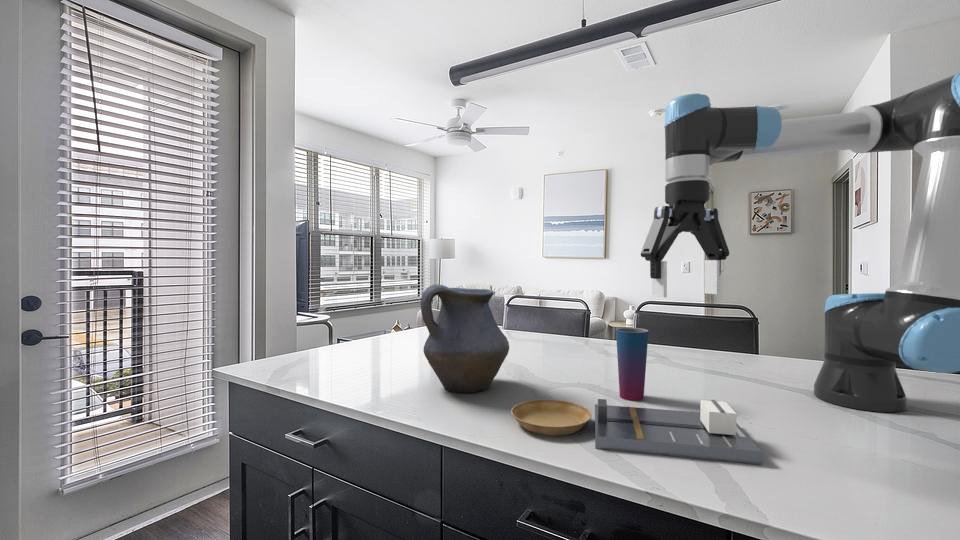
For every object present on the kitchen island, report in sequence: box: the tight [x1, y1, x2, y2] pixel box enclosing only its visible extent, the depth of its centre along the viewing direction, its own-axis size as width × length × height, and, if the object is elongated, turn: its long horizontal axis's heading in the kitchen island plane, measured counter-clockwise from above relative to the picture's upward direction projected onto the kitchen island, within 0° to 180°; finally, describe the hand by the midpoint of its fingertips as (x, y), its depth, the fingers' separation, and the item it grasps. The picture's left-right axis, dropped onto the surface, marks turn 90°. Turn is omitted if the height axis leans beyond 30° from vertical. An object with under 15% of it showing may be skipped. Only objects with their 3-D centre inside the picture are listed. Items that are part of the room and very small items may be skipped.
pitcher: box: [420, 283, 510, 394], centre depth 105 cm, size 21×22×25 cm
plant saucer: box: [510, 398, 592, 437], centre depth 82 cm, size 15×15×3 cm
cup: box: [615, 327, 649, 402], centre depth 98 cm, size 7×7×15 cm
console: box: [594, 398, 763, 466], centre depth 77 cm, size 24×16×5 cm, turn 76°
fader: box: [700, 399, 738, 435], centre depth 75 cm, size 4×6×4 cm, turn 166°
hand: (686, 295), depth 83 cm, fingers open, 13 cm apart
